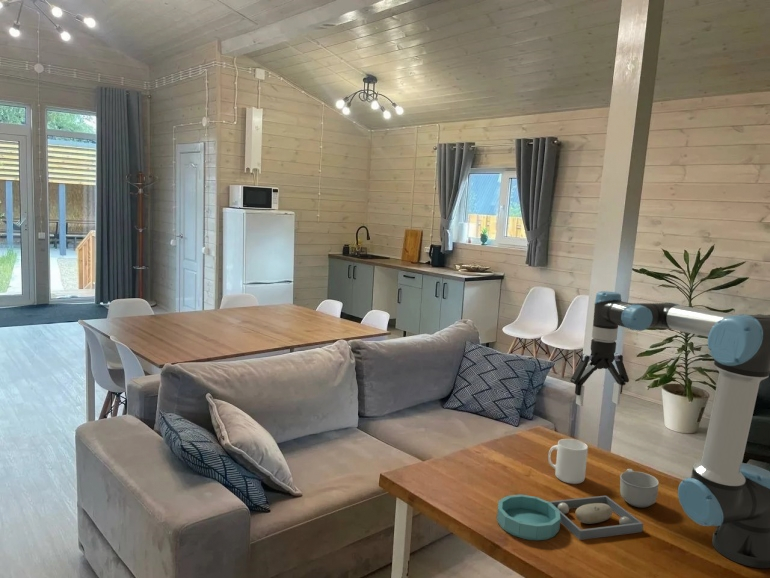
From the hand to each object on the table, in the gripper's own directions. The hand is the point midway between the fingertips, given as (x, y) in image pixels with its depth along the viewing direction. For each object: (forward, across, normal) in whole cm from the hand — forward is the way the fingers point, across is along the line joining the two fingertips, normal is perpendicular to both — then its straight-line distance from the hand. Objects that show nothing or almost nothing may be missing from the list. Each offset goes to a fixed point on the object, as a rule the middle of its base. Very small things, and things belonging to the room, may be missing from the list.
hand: (597, 404), depth 191 cm
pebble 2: (+26, +8, +28) cm, 39 cm away
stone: (+26, +15, +23) cm, 38 cm away
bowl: (+26, +35, +21) cm, 48 cm away
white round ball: (+26, +21, +18) cm, 38 cm away
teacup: (+26, -6, +15) cm, 31 cm away
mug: (+26, +7, -3) cm, 27 cm away
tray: (+26, +15, +23) cm, 38 cm away
